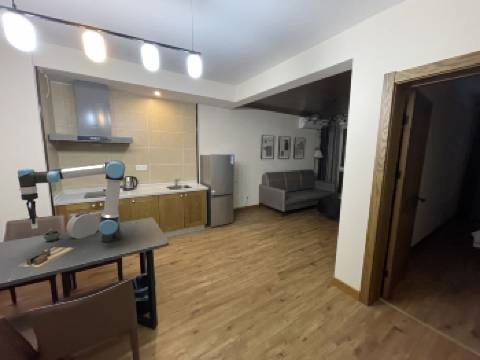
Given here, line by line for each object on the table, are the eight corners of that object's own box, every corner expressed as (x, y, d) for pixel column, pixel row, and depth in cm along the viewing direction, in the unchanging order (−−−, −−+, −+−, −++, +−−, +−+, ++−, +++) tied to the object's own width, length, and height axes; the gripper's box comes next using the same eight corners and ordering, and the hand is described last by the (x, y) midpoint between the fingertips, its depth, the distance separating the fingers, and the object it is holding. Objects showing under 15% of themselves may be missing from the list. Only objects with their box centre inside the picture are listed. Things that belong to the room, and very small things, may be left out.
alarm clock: (94, 230, 186) (92, 208, 183) (99, 231, 183) (98, 210, 181) (67, 239, 166) (64, 215, 164) (73, 241, 164) (70, 217, 161)
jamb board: (75, 249, 151) (75, 243, 150) (43, 268, 126) (42, 261, 126) (54, 248, 151) (53, 242, 151) (17, 268, 126) (16, 260, 126)
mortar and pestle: (45, 240, 164) (43, 226, 162) (61, 237, 169) (59, 223, 168) (43, 246, 155) (41, 230, 153) (60, 242, 161) (58, 228, 159)
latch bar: (46, 253, 141) (46, 248, 141) (52, 254, 141) (51, 248, 140) (25, 264, 128) (25, 258, 128) (31, 264, 128) (31, 258, 127)
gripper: (22, 192, 136) (28, 226, 139) (19, 195, 126) (25, 232, 129) (38, 190, 140) (43, 223, 144) (36, 194, 130) (41, 229, 134)
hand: (34, 228), depth 137 cm, fingers closed
